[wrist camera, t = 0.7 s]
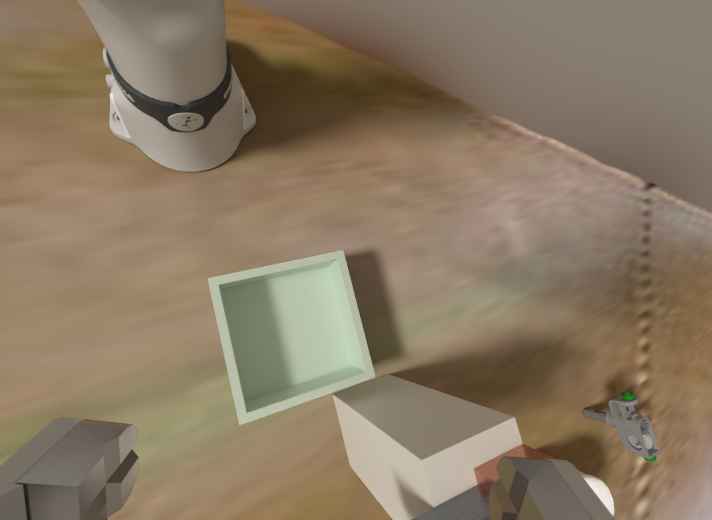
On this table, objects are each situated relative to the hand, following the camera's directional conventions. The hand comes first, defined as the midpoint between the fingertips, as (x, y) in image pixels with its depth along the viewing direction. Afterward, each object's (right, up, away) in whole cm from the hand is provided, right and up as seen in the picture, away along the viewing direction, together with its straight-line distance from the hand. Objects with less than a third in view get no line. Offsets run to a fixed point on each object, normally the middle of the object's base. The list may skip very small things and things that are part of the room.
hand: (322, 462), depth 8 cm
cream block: (+3, -18, +44) cm, 47 cm away
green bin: (-9, -5, +42) cm, 43 cm away
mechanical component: (+42, -23, +56) cm, 74 cm away
